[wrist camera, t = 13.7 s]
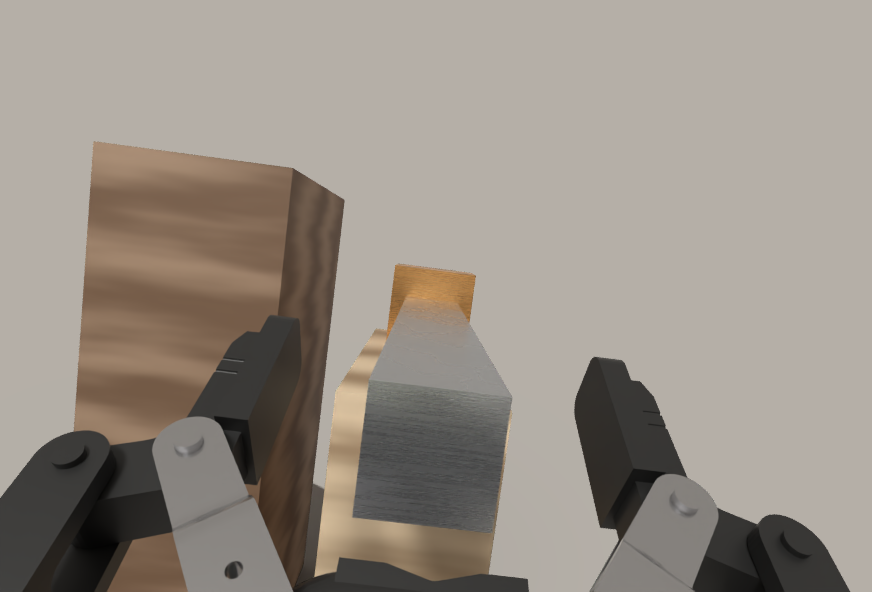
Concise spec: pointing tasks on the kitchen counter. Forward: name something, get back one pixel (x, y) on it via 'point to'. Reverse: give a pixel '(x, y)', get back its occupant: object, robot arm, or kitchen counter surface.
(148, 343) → the walnut stand
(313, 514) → the kitchen counter surface
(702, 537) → the robot arm
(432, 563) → the beige slab
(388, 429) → the steel pin
